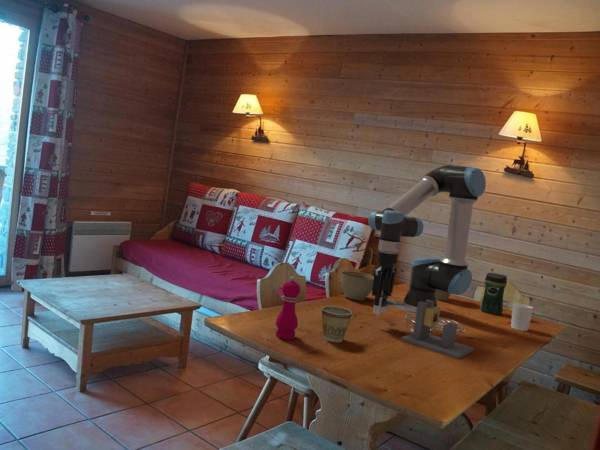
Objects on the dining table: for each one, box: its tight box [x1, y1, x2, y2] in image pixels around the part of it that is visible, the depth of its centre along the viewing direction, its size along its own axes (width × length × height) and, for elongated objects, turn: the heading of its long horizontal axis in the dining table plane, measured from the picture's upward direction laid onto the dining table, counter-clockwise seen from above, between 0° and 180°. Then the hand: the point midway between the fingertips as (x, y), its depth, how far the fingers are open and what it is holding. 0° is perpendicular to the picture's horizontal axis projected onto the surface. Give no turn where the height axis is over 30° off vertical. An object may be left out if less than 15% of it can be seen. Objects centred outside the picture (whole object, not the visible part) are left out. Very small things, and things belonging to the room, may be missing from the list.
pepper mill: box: [275, 276, 301, 340], centre depth 172 cm, size 7×7×20 cm
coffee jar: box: [480, 272, 508, 316], centre depth 248 cm, size 10×8×19 cm
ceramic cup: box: [321, 305, 357, 343], centre depth 177 cm, size 13×10×10 cm
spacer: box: [423, 306, 441, 328], centre depth 186 cm, size 3×6×6 cm, turn 141°
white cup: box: [510, 302, 534, 332], centre depth 224 cm, size 8×8×10 cm
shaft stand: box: [400, 300, 475, 359], centre depth 184 cm, size 21×14×14 cm, turn 51°
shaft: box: [381, 293, 435, 316], centre depth 193 cm, size 22×4×4 cm, turn 51°
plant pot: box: [435, 289, 451, 302], centre depth 264 cm, size 15×15×16 cm
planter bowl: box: [340, 270, 374, 301], centre depth 242 cm, size 16×16×11 cm
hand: (379, 312), depth 199 cm, fingers closed on shaft, 4 cm apart
